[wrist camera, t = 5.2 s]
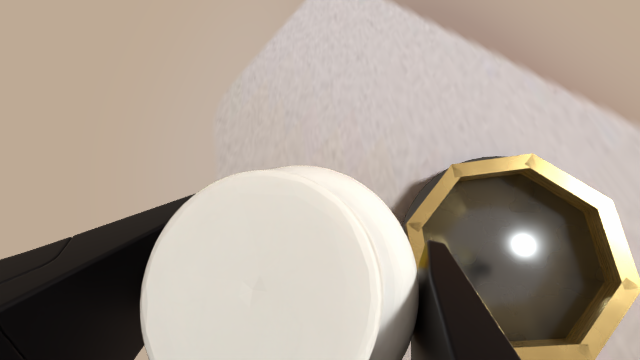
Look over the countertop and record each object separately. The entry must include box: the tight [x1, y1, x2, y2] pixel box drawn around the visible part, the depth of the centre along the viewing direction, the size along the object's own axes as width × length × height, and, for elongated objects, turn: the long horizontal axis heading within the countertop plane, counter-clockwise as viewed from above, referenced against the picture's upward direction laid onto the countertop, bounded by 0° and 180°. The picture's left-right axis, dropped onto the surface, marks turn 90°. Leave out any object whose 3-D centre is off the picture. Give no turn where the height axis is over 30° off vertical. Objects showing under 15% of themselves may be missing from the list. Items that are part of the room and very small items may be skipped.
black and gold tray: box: [402, 154, 640, 360], centre depth 18 cm, size 12×12×2 cm
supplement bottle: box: [140, 165, 419, 360], centre depth 10 cm, size 6×6×10 cm
